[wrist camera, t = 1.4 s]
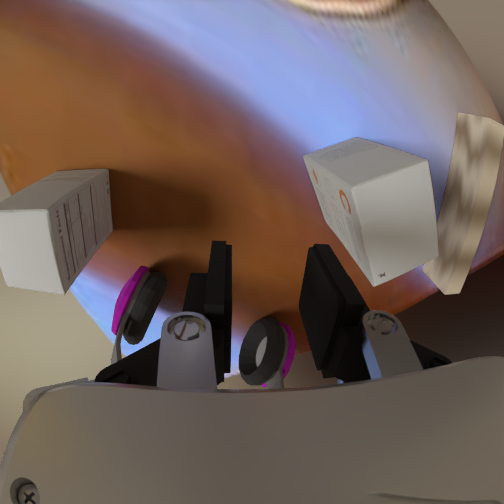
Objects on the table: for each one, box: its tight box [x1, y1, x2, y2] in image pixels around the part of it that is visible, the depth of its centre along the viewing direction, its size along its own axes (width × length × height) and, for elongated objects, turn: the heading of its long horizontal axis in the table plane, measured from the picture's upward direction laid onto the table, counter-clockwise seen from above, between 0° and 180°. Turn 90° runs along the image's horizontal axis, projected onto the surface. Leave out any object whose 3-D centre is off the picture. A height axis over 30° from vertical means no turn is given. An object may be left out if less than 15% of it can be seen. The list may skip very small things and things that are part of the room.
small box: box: [303, 137, 439, 287], centre depth 24 cm, size 8×6×13 cm
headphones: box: [111, 266, 296, 389], centre depth 27 cm, size 21×9×20 cm, turn 61°
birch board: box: [422, 113, 504, 294], centre depth 28 cm, size 22×3×6 cm, turn 176°
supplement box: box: [0, 169, 113, 295], centre depth 23 cm, size 7×7×13 cm
